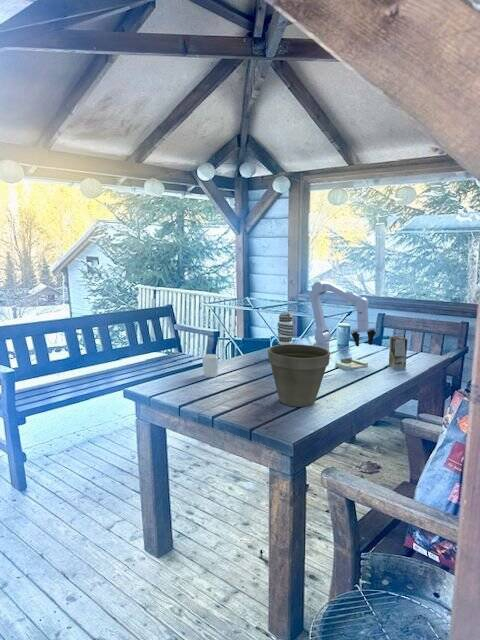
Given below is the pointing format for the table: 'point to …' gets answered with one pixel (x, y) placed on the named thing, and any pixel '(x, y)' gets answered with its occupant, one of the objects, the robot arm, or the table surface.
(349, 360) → the sliding lid with handle
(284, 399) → the plant pot
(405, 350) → the coffee box
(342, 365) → the box
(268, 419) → the table surface
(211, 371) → the white cup
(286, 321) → the decorative candle
